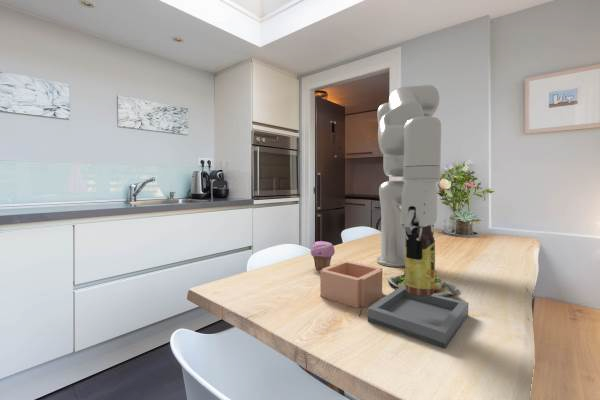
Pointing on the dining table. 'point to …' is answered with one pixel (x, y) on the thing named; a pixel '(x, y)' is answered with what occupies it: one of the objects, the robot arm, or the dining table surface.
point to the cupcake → (322, 254)
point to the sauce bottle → (421, 267)
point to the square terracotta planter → (351, 283)
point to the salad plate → (440, 287)
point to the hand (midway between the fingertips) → (420, 254)
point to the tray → (420, 316)
